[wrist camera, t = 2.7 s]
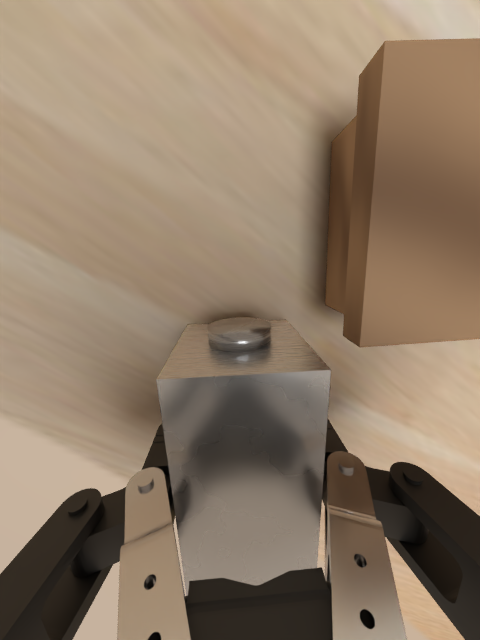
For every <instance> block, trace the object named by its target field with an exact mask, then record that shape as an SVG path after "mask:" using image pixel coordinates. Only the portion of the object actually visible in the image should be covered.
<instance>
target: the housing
mask: <svg viewBox="0 0 480 640" xmlns="http://www.w3.org/2000/svg"><path fill="white" fill-rule="evenodd" d="M330 376H331V369H330V368H329V367H328V366H327V365H326V364H325V363H324V362H323V361H322V359H321V358H320V357H319V356H318V355H317V354H316V353H315V352H314V350H313V349H312V348H311V347H310V346H309V345H308V344H307V343H306V341H305V340H304V339H303V338H302V337H301V336H300V335H299V334H298V333H297V331H296V330H295V329H294V328H293V327H292V326H291V325H290V324H289V322H288V321H287V320H269V321H266V320H263V319H259V318H251V317H235V318H226V319H221V320H217V321H215V322H212V323H205V324H188V325H187V326H186V328H185V330H184V332H183V334H182V335H181V337H180V339H179V341H178V342H177V344H176V346H175V348H174V349H173V351H172V353H171V355H170V356H169V358H168V360H167V362H166V363H165V365H164V367H163V369H162V370H161V372H160V374H159V376H158V378H157V379H156V381H157V388H158V396H159V403H160V410H161V417H162V424H163V431H164V438H165V445H166V452H167V459H168V467H169V474H170V481H171V488H172V495H173V502H174V509H175V516H176V523H177V530H178V537H179V545H180V552H181V559H182V566H183V573H184V580H185V586H186V594H187V595H188V589H189V581H194V580H204V579H214V578H226V579H230V580H234V581H238V582H242V583H246V584H251V585H261V584H263V583H265V582H267V581H269V580H271V579H273V578H275V577H278V576H280V575H282V574H284V573H286V572H288V571H292V570H302V569H311V568H317V559H318V545H319V531H320V517H321V503H322V489H323V475H324V461H325V446H326V432H327V418H328V404H329V390H330Z"/></svg>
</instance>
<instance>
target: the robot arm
mask: <svg viewBox="0 0 480 640" xmlns="http://www.w3.org/2000/svg"><path fill="white" fill-rule="evenodd" d="M322 500H323V503H324V505H325V513H324V520H325V577H324V573H323V570H322V568H311V569H302V570H292V571H288V572H286V573H284V574H282V575H280V576H278V577H275V578H273V579H271V580H269V581H267V582H265V583H263V584H261V585H251V584H246V583H242V582H238V581H234V580H230V579H226V578H214V579H204V580H194V581H189V589H188V595H187V596H185V594H184V588H183V582H182V576H181V570H180V564H179V557H178V551H177V545H176V539H175V533H174V527H173V524H174V519H175V509H174V502H173V495H172V488H171V481H170V474H169V467H168V459H167V452H166V445H165V438H164V431H163V424H161V425H160V426H159V428H158V430H157V433H156V437H155V438H154V440H153V444H152V446H151V448H150V451H149V453H148V456H147V458H146V461H145V463H144V466H143V468H142V470H141V471H139V472H138V473H136V474H135V475H134V476H133V477H132V478H131V479H130V480H129V482H128V484H127V486H126V487H125V488H123V489H121V490H119V491H116V492H114V493H111V494H108V495H105V496H103V497H101V494H100V492H99V491H98V490H97V489H91V488H90V489H85V490H81V491H79V492H77V493H75V494H74V495H72V496H70V497H69V498H68V499H67V500H66V501H65V502H63V504H61V506H60V507H59V508H58V509H57V510H56V511H55V513H54V514H53V515H52V516H51V517H50V518H49V519H48V520H47V522H46V523H45V524H44V525H43V526H42V527H41V529H40V530H39V531H38V532H37V533H36V534H35V535H34V536H33V538H32V539H31V540H30V541H29V542H28V543H27V544H26V545H25V547H24V548H23V549H22V550H21V551H20V552H19V553H18V555H17V556H16V557H15V558H14V559H13V560H12V561H11V563H10V564H9V565H8V566H7V567H6V568H5V570H4V571H3V572H2V573H1V574H0V640H72V639H73V637H74V636H75V634H76V632H77V630H78V628H79V626H80V625H81V623H82V621H83V619H84V617H85V615H86V613H87V612H88V610H89V608H90V606H91V604H92V602H93V601H94V599H95V597H96V595H97V593H98V591H99V590H100V588H101V586H102V584H103V582H104V580H105V579H106V577H107V575H108V573H109V571H110V569H111V567H112V565H113V564H115V563H117V562H119V561H120V570H119V600H118V631H117V640H407V638H406V633H405V628H404V623H403V618H402V614H401V609H400V605H399V600H398V595H397V591H396V586H395V582H394V577H393V572H392V568H391V563H390V559H389V554H388V549H387V545H386V540H385V537H387V539H388V540H389V542H390V543H391V544H392V545H393V547H394V548H395V549H396V551H397V552H398V553H399V554H400V556H401V557H402V558H403V560H404V561H405V562H406V564H407V565H408V566H409V567H410V569H411V570H412V571H413V573H414V574H415V575H416V577H417V578H418V579H419V580H420V582H421V583H422V584H423V586H424V587H425V588H426V589H427V591H428V592H429V593H430V595H431V596H432V597H433V599H434V600H435V601H436V602H437V604H438V605H439V606H440V608H441V609H442V610H443V612H444V613H445V614H446V615H447V617H448V618H449V619H450V621H451V622H452V623H453V625H454V626H455V627H456V628H457V630H458V631H459V632H460V634H461V635H462V636H463V637H464V639H465V640H480V516H479V515H477V514H476V513H475V512H474V511H473V510H471V509H470V508H469V507H468V506H467V505H465V504H464V503H463V502H462V501H461V500H459V499H458V498H457V497H456V496H455V495H453V494H452V493H451V492H450V491H449V490H448V489H446V488H445V487H444V486H443V485H442V484H440V483H439V482H438V481H437V480H436V479H434V478H433V477H432V476H431V475H430V474H428V473H427V472H426V471H425V470H423V469H421V468H420V467H418V466H416V465H413V464H410V463H406V462H397V463H394V464H393V465H392V466H391V468H390V472H389V471H384V470H379V469H373V468H369V467H367V466H365V465H364V464H363V462H362V461H361V460H360V459H359V458H358V457H356V456H355V455H353V454H351V453H348V451H347V449H346V448H345V446H344V444H343V443H342V441H341V440H340V438H339V436H338V435H337V433H336V431H335V430H334V429H333V426H332V425H331V423H330V422H329V420H328V418H327V432H326V446H325V461H324V475H323V489H322Z"/></svg>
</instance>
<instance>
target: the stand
mask: <svg viewBox="0 0 480 640" xmlns="http://www.w3.org/2000/svg"><path fill="white" fill-rule="evenodd" d="M325 305H327V306H329V307H331V308H333V309H335V310H337V311H339V312H341V313H343V314H344V327H343V336H344V337H346V338H347V339H349V340H350V341H351V342H353V343H354V344H356V345H357V346H359V347H371V346H385V345H399V344H414V343H428V342H442V341H456V340H470V339H480V39H442V40H404V41H385V42H384V43H383V45H382V46H381V47H380V49H379V50H378V51H377V53H376V54H375V55H374V57H373V58H372V59H371V61H370V62H369V63H368V65H367V66H366V68H365V69H364V70H363V72H362V73H361V74H360V76H359V87H358V103H357V116H356V117H355V118H354V119H353V120H352V121H351V122H350V123H349V124H348V125H347V126H346V127H345V128H344V130H343V131H342V132H341V133H340V134H339V135H338V136H337V137H336V138H335V139H334V140H333V141H332V148H331V173H330V197H329V222H328V247H327V272H326V297H325Z"/></svg>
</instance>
